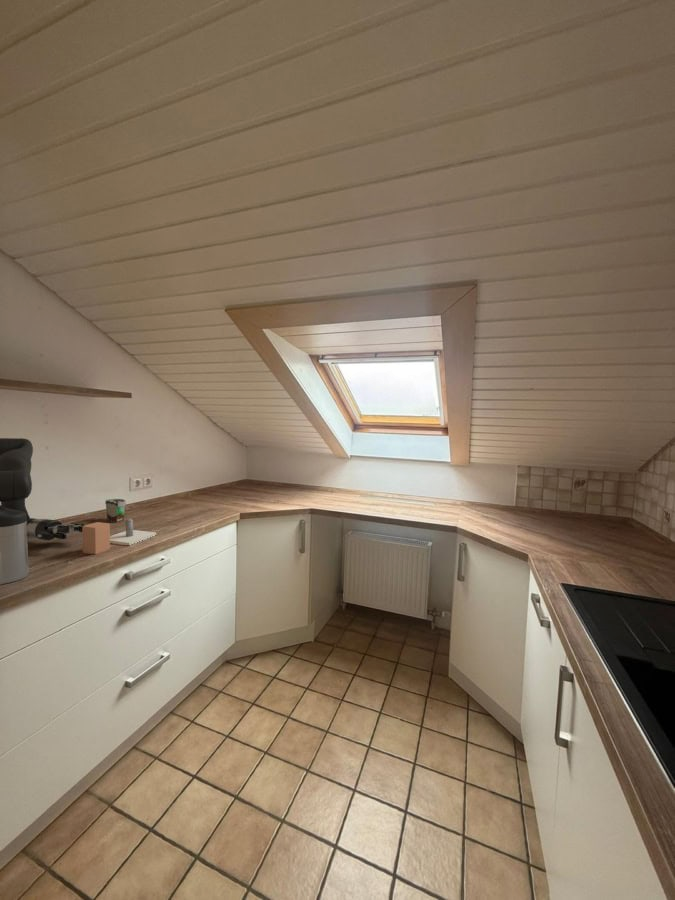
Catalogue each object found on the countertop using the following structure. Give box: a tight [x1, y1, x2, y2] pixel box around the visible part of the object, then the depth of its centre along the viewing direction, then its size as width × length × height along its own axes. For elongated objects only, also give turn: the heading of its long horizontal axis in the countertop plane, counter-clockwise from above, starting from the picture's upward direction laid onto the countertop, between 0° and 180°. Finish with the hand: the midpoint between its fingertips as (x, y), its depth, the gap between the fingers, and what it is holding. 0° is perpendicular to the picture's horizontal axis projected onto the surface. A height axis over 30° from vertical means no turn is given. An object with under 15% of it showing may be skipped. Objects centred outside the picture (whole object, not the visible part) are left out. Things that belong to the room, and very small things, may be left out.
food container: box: [104, 498, 127, 523], centre depth 171 cm, size 12×6×10 cm, turn 59°
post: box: [110, 518, 157, 546], centre depth 144 cm, size 14×14×8 cm
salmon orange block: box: [81, 521, 111, 555], centre depth 129 cm, size 6×6×10 cm
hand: (76, 532), depth 131 cm, fingers open, 8 cm apart
